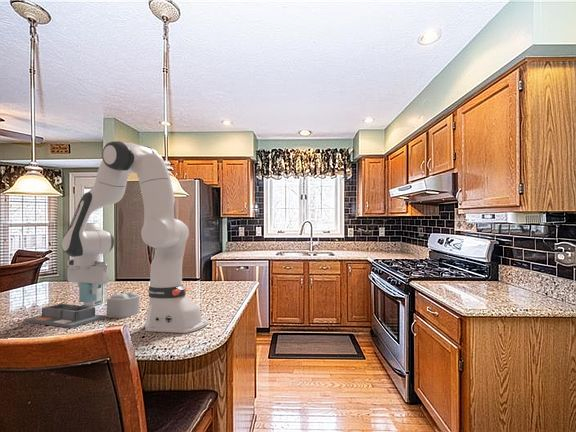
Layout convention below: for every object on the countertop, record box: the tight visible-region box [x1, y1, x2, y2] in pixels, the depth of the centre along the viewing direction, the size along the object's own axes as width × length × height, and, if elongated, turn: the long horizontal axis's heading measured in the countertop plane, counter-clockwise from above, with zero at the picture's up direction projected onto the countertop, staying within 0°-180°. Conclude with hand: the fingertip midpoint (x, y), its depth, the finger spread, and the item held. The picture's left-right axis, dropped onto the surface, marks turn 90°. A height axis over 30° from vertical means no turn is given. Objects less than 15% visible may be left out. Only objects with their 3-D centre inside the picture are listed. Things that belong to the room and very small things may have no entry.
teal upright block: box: [78, 283, 97, 303], centre depth 145 cm, size 4×4×8 cm
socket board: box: [24, 303, 106, 329], centre depth 131 cm, size 24×14×4 cm, turn 70°
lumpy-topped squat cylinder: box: [106, 291, 141, 319], centre depth 142 cm, size 10×13×9 cm
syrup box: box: [83, 284, 104, 307], centre depth 159 cm, size 6×6×14 cm
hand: (88, 293), depth 145 cm, fingers closed on teal upright block, 4 cm apart
